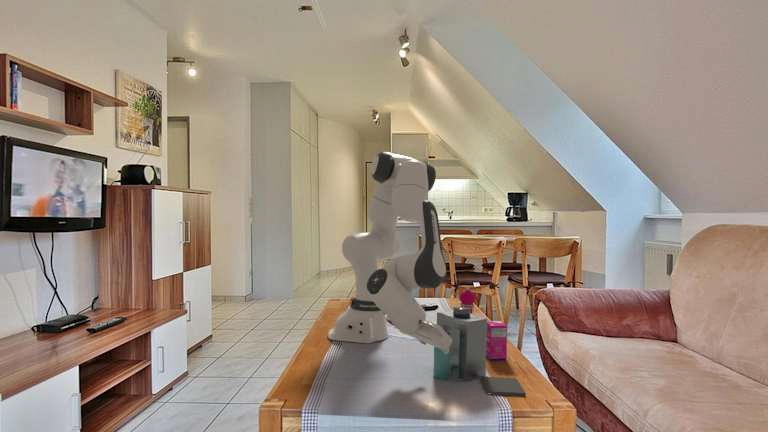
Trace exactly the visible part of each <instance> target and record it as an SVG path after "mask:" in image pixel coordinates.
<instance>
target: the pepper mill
mask: <svg viewBox="0 0 768 432" xmlns="http://www.w3.org/2000/svg"><path fill="white" fill-rule="evenodd" d="M458 297H459V301H460V306H459V307H467V308H470V313H471V314H473V310H474V308H475V301H476V297H477V296H476V293H475V292H474V291H472V290H471V287H470V286H469V285H468V286H465V289H464V290H462V291H461V292H460V293H459V296H458Z"/></svg>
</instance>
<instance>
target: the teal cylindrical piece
mask: <svg viewBox="0 0 768 432" xmlns="http://www.w3.org/2000/svg"><path fill="white" fill-rule="evenodd" d="M446 333H447V334H448V335H449V336H450V333H448V332H446ZM451 348H452V344H451V345H450V347H449V349H450V351H449V352H448V354H444V353H442V351H441V350H440V349H439V348H437V347H435V346H433V378H435V379H437V380H440V381H441V380H442V381H446V380H449V378H450V379H451V377H452V375H451V374H452V368H451Z"/></svg>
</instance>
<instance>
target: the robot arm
mask: <svg viewBox="0 0 768 432" xmlns="http://www.w3.org/2000/svg"><path fill="white" fill-rule="evenodd" d="M370 168H371V170H370V171H371V177H372V178H373V180H374V181H376V182H377V185H376V187H375V189H374V193H373V194H372V198H371V201H370V204H369V207H368V211H367V217H368V219H369V220H370V221H371V229H370V231H369V232H368V231H366V232H356V233H353V234H349V235H347V236H346V237H345V238H344V239H343V241H342V243H341V252H342V255H343V258H344V259H346V261H348V262H349V264H350V265H351V267H352V270H353V273H354V277H355V278H354V279H355V296H351V297H350V298H349V308H347V310H345V311H343V313H341V314H340V315H338V316H337V318H336V320H335V322H334V327H332V328H331V329H330V330H328V334H327V337H328V339H329V340H332V341H340V342H351V343H361V344H372V343H374V342H379V341H383V340H386V339H387V338H389V332H388V328H387V327H388V326H387V323H389V325H392V326H394V327H395V329H396V330H398V331H399V332H400V333H402V334H403V335H407V336H409V337H411V338H414V339H416V340H417V341H418V342H420V344H422V345H424V346H425V345H427V344H428V345H430V346H432V347H434V346H435V347H437V348H439V349H440V350H441V351H442V353H444V354H448V352H449V351H450V349H449V347H450V345H451V344H452V338H451V337H450V336H449V335H448V334H447V333H446V332H445V331H444V330H443V329H442V328H441V327H440V326H439V325H437V323H435V322H433V321H429V320H427V319H426V317H427V313H426V311H425V308H423V307H422V306H421V304H420V303H419V302H418V301H417V300H416V298H415V297H413V296H412V292H413V291H414V290H420V289H436V288H438V287H440V285H442V283H443V281H444V280H445V279H446V276H447V271H448V270H447V264H446V260H445V257H444V253H443V247H442V237H441V229H440V228H441V227H440V221H439V216H438V211H437V208H436V206H435V204H434V203H433V202H431V201H430V200H429V192H430V191H431V190H432V189H433V187H434V185H435V183H436V177H437V172H436V168H435V167H434V166H433V165H431V164H430V163H428V162H423V161H420V160H419V159H416V158H413V157H410V156H405V155H401V154H396V153H395V154H394V153H391V152H390V151H381V152H379V153H377V155H376V156H375V158H374V159H373V160H372V164H371V167H370ZM399 218H400V219H402V220H403V221H406V222H409V223H415V224H419V227H420V238H421V239H420V241H421V248H420V249H419V251H418V252H416V253H412V254H411V253H410V254H406V255H401V256H397V255H398V253H399V251H400V248H401V244H400V240H399V238H398V236H397V234H396V231H397V230H396V229H397V222H398V219H399ZM396 256H397V257H396ZM380 261H386V262H385V263H384V265H383V267H382V268H379V267H378V263H377V262H380Z"/></svg>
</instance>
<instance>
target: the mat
mask: <svg viewBox="0 0 768 432" xmlns="http://www.w3.org/2000/svg"><path fill="white" fill-rule="evenodd" d="M481 380H482V381H481ZM480 381H481V383H482V385H483V388H484V387H485V388H484V390H485V389H486V390H485V392H486V391H487V392H486V394H487V393H491V394H490V395H492V394H500V396H516V397H517V396H519V397H526V391H525V390H524V388H523V387H522V385H521V383H520V382H519V380H518V379H517V378H516V377H502V376H501V377H500V376H484V377H481V378H480Z"/></svg>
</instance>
